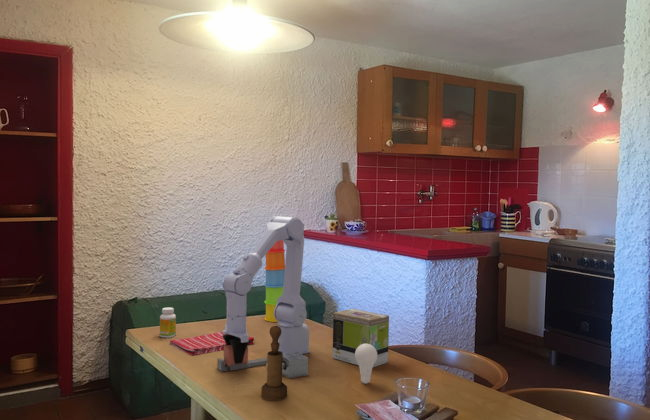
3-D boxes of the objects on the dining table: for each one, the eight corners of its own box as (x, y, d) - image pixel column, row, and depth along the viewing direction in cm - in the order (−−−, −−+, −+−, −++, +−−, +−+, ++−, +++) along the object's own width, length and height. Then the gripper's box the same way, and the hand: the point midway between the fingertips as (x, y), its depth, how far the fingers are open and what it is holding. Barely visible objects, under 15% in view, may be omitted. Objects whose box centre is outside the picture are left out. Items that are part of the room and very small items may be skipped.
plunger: (282, 368, 161) (283, 359, 161) (286, 371, 159) (287, 362, 159) (266, 371, 158) (266, 361, 158) (269, 373, 156) (270, 364, 156)
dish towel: (256, 345, 191) (256, 337, 191) (192, 357, 176) (192, 349, 175) (230, 334, 204) (230, 327, 204) (168, 345, 189) (168, 337, 189)
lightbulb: (370, 389, 150) (371, 348, 150) (350, 384, 153) (351, 344, 153) (380, 382, 155) (381, 343, 155) (360, 378, 159) (361, 339, 158)
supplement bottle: (171, 338, 195) (171, 310, 194) (156, 337, 196) (157, 309, 196) (178, 334, 200) (178, 307, 200) (164, 333, 201) (164, 306, 201)
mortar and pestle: (266, 402, 140) (268, 330, 139) (257, 393, 145) (258, 324, 145) (291, 398, 143) (292, 327, 142) (281, 389, 148) (282, 322, 148)
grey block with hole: (298, 368, 165) (298, 352, 165) (307, 375, 160) (308, 357, 160) (279, 371, 162) (279, 354, 162) (288, 378, 157) (289, 360, 157)
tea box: (389, 362, 173) (390, 315, 173) (368, 369, 166) (370, 320, 165) (351, 352, 184) (353, 307, 183) (331, 358, 176) (332, 311, 176)
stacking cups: (281, 323, 219) (283, 234, 217) (259, 320, 223) (260, 233, 222) (294, 318, 228) (296, 233, 227) (272, 315, 232) (273, 231, 231)
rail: (273, 360, 173) (274, 350, 173) (278, 363, 170) (278, 353, 170) (217, 368, 164) (217, 358, 164) (221, 371, 161) (221, 361, 161)
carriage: (242, 363, 169) (242, 343, 168) (248, 367, 165) (248, 346, 164) (223, 366, 166) (223, 345, 165) (228, 370, 162) (228, 349, 162)
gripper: (215, 310, 169) (214, 355, 169) (232, 321, 156) (231, 369, 157) (237, 308, 172) (236, 352, 173) (255, 319, 160) (255, 366, 160)
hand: (235, 360), depth 165 cm, fingers closed on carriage, 4 cm apart
